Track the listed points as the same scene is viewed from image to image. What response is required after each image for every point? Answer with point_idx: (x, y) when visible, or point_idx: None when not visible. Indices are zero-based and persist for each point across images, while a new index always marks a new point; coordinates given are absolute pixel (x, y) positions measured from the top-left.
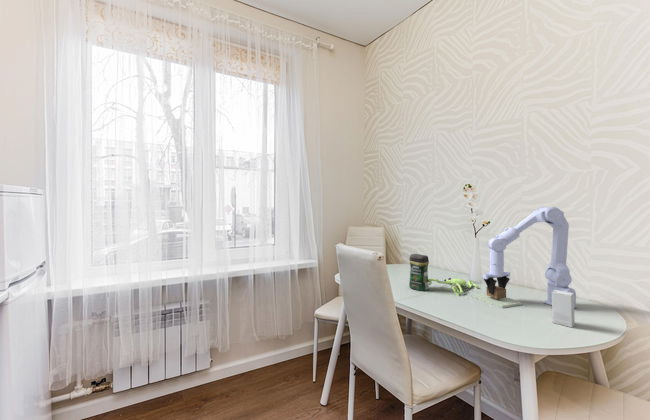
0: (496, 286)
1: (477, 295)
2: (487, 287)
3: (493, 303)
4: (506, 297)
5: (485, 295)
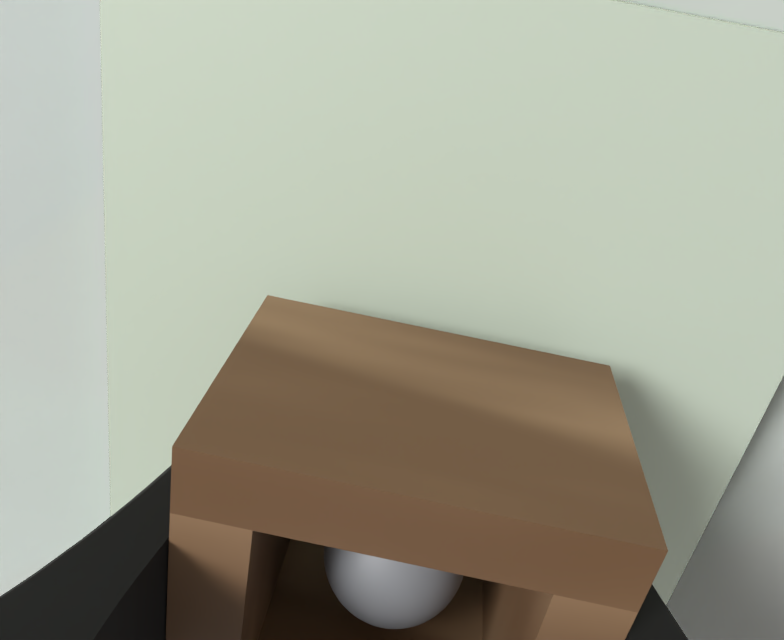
0: (570, 606)
1: (187, 34)
2: (176, 472)
3: (118, 504)
4: (697, 514)
5: (405, 164)
